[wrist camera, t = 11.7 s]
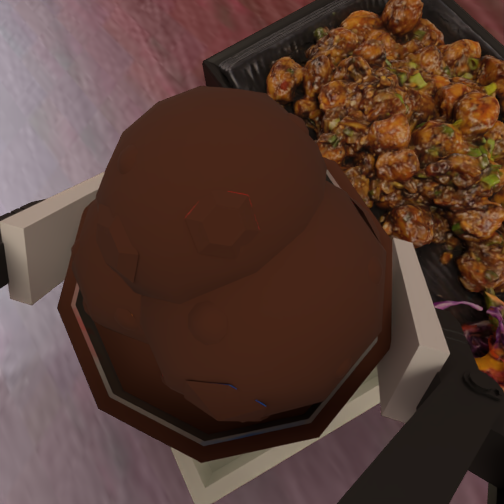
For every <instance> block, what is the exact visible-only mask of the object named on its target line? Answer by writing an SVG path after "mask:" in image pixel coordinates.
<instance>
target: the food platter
mask: <svg viewBox="0 0 504 504" xmlns="http://www.w3.org/2000/svg"><path fill="white" fill-rule="evenodd" d="M202 65H203V70H204V75H205V80H206V85H207V86H208V87H220V88H232V89H242V90H248V91H254V92H261V93H265V92H266V94H267V95H268V96H270V97H271V98H272V99H273V100H275V101H276V102H277V103H278V104H280V105H281V106H282V107H283V108H284V109H285V110H286V111H287V112H288V113H292V114H294V115H296V116H298V117H300V118H302V119H303V121H304V123H305V125H306V127H307V128H308V130H309V136H310V137H311V138H312V139H313V140H314V141H315V143H316V144H317V145H318V147H319V150H320V152H321V154H322V157H325V158H327V159H330V160H333V161H335V162H336V163H337V164H338V165H339V167H340V168H341V170H342V171H343V172H344V174H345V175H346V177H347V178H348V180H349V181H350V182H351V184H352V185H353V187H354V188H355V189H356V191H357V192H358V194H359V195H360V196H361V198H362V199H363V201H364V202H365V203H366V205H367V206H368V208H369V209H370V210H371V212H372V213H373V215H374V216H375V217H376V219H377V220H378V222H379V223H380V225H381V226H382V227H383V229H384V230H385V232H386V233H387V234H388V236H389V237H390V239H391V240H393V238H396V239H400V240H404V241H408V242H411V243H413V246H414V249H415V252H416V255H417V258H418V261H419V264H420V267H421V270H422V272H423V275H424V278H425V281H426V284H427V287H428V290H429V293H430V296H431V299H432V302H433V305H434V307H435V308H438V309H442V310H445V311H449V312H450V313H451V314H452V315H453V316H454V317H455V318H456V319H457V320H458V322H459V323H460V325H461V327H462V330H463V332H464V336H465V337H466V339H467V342H468V343H467V344H468V345H469V346H470V349H471V351H472V354H473V356H474V359H475V361H476V363H477V366H478V368H479V370H480V371H482V372H484V373H486V374H487V375H488V376H490V377H491V378H492V379H494V380H495V381H496V382H497V383H498V384H499V385H500V387H501V388H502V389H503V391H504V46H503V45H502V44H501V43H500V42H499V41H497V40H496V39H495V38H494V37H493V36H492V35H491V34H490V33H489V32H488V31H487V30H485V29H484V28H483V27H482V26H481V25H480V24H479V23H478V22H477V21H476V20H474V19H473V18H472V17H471V16H470V15H469V14H468V13H467V12H466V11H465V10H464V9H462V8H461V7H460V6H459V5H458V4H457V3H456V2H455V1H454V0H315V1H314V2H312V3H310V4H308V5H306V6H304V7H302V8H301V9H299V10H297V11H295V12H293V13H291V14H289V15H288V16H286V17H284V18H282V19H280V20H278V21H276V22H275V23H273V24H271V25H269V26H267V27H265V28H263V29H262V30H260V31H258V32H256V33H254V34H252V35H250V36H249V37H247V38H245V39H243V40H241V41H239V42H237V43H236V44H234V45H232V46H230V47H228V48H226V49H224V50H223V51H221V52H219V53H217V54H215V55H213V56H211V57H210V58H208V59H206V60H204V61H203V63H202ZM344 84H345V85H344ZM429 86H430V87H429ZM357 100H358V101H357ZM463 139H464V140H463ZM466 141H467V142H466ZM468 142H469V143H468ZM446 151H447V152H446ZM470 176H471V177H470ZM402 181H403V182H402ZM473 183H474V184H473ZM451 223H452V224H451ZM486 240H487V241H486ZM456 250H457V251H456ZM463 251H464V252H463ZM460 255H461V256H460ZM455 257H456V258H455ZM483 261H484V262H483ZM487 265H488V266H487ZM471 316H472V317H471ZM493 332H494V333H493Z"/></svg>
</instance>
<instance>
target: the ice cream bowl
mask: <svg viewBox="0 0 504 504" xmlns="http://www.w3.org/2000/svg"><path fill="white" fill-rule="evenodd" d="M392 242H393V241H392V240H391V239H390V237H389V236H388V234H387V233H386V232H385V230H384V229H383V227H382V226H381V225H380V223H379V222H378V220H377V219H376V217H375V216H374V215H373V213H372V212H371V210H370V209H369V208H368V206H367V205H366V203H365V202H364V201H363V199H362V198H361V196H360V195H359V194H358V192H357V191H356V189H355V188H354V187H353V185H352V184H351V182H350V181H349V180H348V178H347V177H346V175H345V174H344V172H343V171H342V170H341V168H340V167H339V165H338V164H337V163H336V162H335V161H333V160H330V159H327V158H325V157H322V154H321V152H320V150H319V147H318V145H317V144H316V143H315V141H314V140H313V139H312V138H311V137H310V136H309V130H308V128H307V127H306V125H305V123H304V121H303V119H302V118H300V117H298V116H296V115H294V114H292V113H288V112H287V111H286V110H285V109H284V108H283V107H282V106H281V105H280V104H278V103H277V102H276V101H275V100H273V99H272V98H271V97H270V96H268V95H267V94H266V93H261V92H254V91H248V90H242V89H232V88H220V87H208V86H199V87H196V88H194V89H191V90H188V91H186V92H183V93H181V94H178V95H175V96H173V97H170V98H167V99H165V100H162V101H159V102H157V103H156V104H155V105H154V106H153V107H152V108H150V109H149V110H148V111H147V112H146V113H145V114H144V115H142V116H141V117H140V118H139V119H138V120H137V121H135V122H134V123H133V124H132V125H131V126H130V127H128V128H127V129H126V130H125V131H124V132H123V133H122V135H121V137H120V139H119V142H118V144H117V146H116V148H115V150H114V153H113V155H112V157H111V159H110V161H109V163H108V166H107V168H106V170H105V173H104V176H103V178H102V181H101V184H100V186H99V189H98V191H97V194H96V199H95V200H93V201H92V202H91V203H90V204H89V205H88V206H87V207H86V208H85V209H84V211H83V213H82V216H81V220H80V224H79V228H78V232H77V235H76V239H75V243H74V245H73V246H72V248H71V258H70V262H69V265H68V269H67V273H66V277H65V281H64V284H63V288H62V292H61V296H60V299H59V303H58V307H57V309H58V311H59V313H60V316H61V318H62V321H63V323H64V326H65V328H66V331H67V333H68V335H69V338H70V340H71V343H72V345H73V348H74V350H75V353H76V355H77V357H78V360H79V362H80V365H81V367H82V370H83V372H84V375H85V377H86V380H87V382H88V384H89V387H90V389H91V392H92V394H93V397H94V399H95V402H96V404H97V406H98V409H100V410H102V411H104V412H106V413H108V414H110V415H112V416H113V417H115V418H117V419H119V420H121V421H123V422H125V423H127V424H129V425H130V426H132V427H134V428H136V429H138V430H140V431H142V432H144V433H146V434H147V435H149V436H151V437H153V438H155V439H157V440H159V441H161V442H163V443H164V444H166V445H168V446H170V447H172V448H174V449H176V450H178V451H180V452H181V453H183V454H185V455H187V456H189V457H191V458H193V459H195V460H197V461H198V462H200V463H204V462H208V461H213V460H218V459H222V458H227V457H231V456H236V455H241V454H245V453H250V452H254V451H259V450H264V449H268V448H273V447H277V446H282V445H287V444H291V443H296V442H301V441H305V440H310V439H314V438H319V437H320V436H321V434H322V433H323V432H324V431H325V429H326V428H327V427H328V426H329V424H330V423H331V422H332V421H333V419H334V418H335V417H336V416H337V414H338V413H339V412H340V411H341V409H342V408H343V407H344V406H345V404H346V403H347V402H348V401H349V399H350V398H351V397H352V396H353V394H354V393H355V392H356V391H357V389H358V388H359V387H360V386H361V384H362V383H363V382H364V381H365V379H366V378H367V377H368V376H369V374H370V373H371V372H372V371H373V369H374V368H375V367H376V366H377V364H378V363H379V362H380V361H381V359H382V358H383V357H384V356H385V354H386V353H387V352H388V351H389V349H390V345H391V324H392Z"/></svg>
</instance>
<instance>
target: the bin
mask: <svg viewBox="0 0 504 504" xmlns="http://www.w3.org/2000/svg"><path fill="white" fill-rule="evenodd" d="M379 403H380V393H379V382H378V371H377V366H376V367H375V368H374V369H373V371H372V372H371V373H370V374H369V376H368V377H367V378H366V379H365V381H364V382H363V383H362V384H361V386H360V387H359V388H358V389H357V391H356V392H355V393H354V394H353V396H352V397H351V398H350V399H349V401H348V402H347V403H346V404H345V406H344V407H343V408H342V409H341V411H340V412H339V413H338V414H337V416H336V417H335V418H334V419H333V421H332V422H331V423H330V424H329V426H328V427H327V428H326V429H325V431H324V432H323V433H322V434H321V436H320V437H319V438H314V439H310V440H305V441H301V442H296V443H291V444H287V445H282V446H277V447H273V448H268V449H264V450H259V451H254V452H250V453H245V454H241V455H236V456H231V457H227V458H222V459H218V460H213V461H208V462H204V463H200V462H198V461H197V460H195V459H193V458H191V457H189V456H187V455H185V454H183V453H181V452H180V451H178V450H176V449H174V448H172V447H170V448H171V450H172V453H173V455H174V457H175V460H176V462H177V464H178V467H179V469H180V471H181V474H182V476H183V478H184V481H185V483H186V485H187V488H188V490H189V492H190V495H191V497H192V500H193V502H194V504H212V503H214V502H215V501H217V500H219V499H220V498H222V497H224V496H225V495H227V494H229V493H230V492H232V491H234V490H235V489H237V488H239V487H240V486H242V485H244V484H245V483H247V482H249V481H250V480H252V479H254V478H255V477H257V476H259V475H260V474H262V473H264V472H265V471H267V470H269V469H270V468H272V467H274V466H275V465H277V464H279V463H280V462H282V461H284V460H285V459H287V458H289V457H290V456H292V455H294V454H295V453H297V452H299V451H300V450H302V449H304V448H305V447H307V446H309V445H310V444H312V443H314V442H315V441H317V440H319V439H320V438H322V437H324V436H325V435H327V434H329V433H330V432H332V431H334V430H335V429H337V428H339V427H340V426H342V425H344V424H345V423H347V422H349V421H350V420H352V419H354V418H355V417H357V416H359V415H360V414H362V413H364V412H365V411H367V410H369V409H370V408H372V407H374V406H375V405H377V404H379Z"/></svg>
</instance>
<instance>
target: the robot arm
mask: <svg viewBox="0 0 504 504" xmlns="http://www.w3.org/2000/svg"><path fill="white" fill-rule="evenodd" d="M104 173H105V172H103V173H101V174H99V175H97V176H95V177H92V178H90V179H88V180H86V181H84V182H82V183H80V184H78V185H76V186H73V187H71V188H69V189H67V190H65V191H63V192H61V193H59V194H57V195H54V196H52V197H50V198H48V199H44V200H39V201H34V202H31V203H28V204H26V205H24V206H22V207H20V209H19V208H18V209H15V210H13V211H11V213H7V214H4V215H2V216H0V288H2V287H3V286H5V285H6V284H8V286H9V293H10V299H13V300H16V301H19V302H23V303H26V304H29V305H33V304H34V303H36V302H37V301H38V300H39V299H41V298H42V297H43V296H44V295H46V294H47V293H48V292H49V291H51V290H52V289H53V288H55V287H56V286H57V285H58V284H60V283H61V282H62V281H63V280H65V277H66V273H67V269H68V265H69V262H70V258H71V248H72V246H73V245H74V243H75V239H76V235H77V232H78V228H79V224H80V220H81V216H82V213H83V211H84V209H85V208H86V207H87V206H88V205H89V204H90V203H91V202H92V201H93V200H95V199H96V194H97V191H98V189H99V186H100V184H101V181H102V178H103V176H104ZM392 241H393V242H392V324H391V345H390V349H389V351H388V352H387V353H386V354H385V356H384V357H383V358H382V359H381V361H380V362H379V363H378V364H377V371H378V382H379V393H380V404H381V415H382V416H384V417H387V418H390V419H394V420H397V421H400V422H403V423H406V424H405V425H404V426H403V427H402V428H401V430H400V431H399V432H398V433H397V434H396V435H395V437H394V438H393V439H392V440H391V441H390V442H389V444H388V445H387V446H386V447H385V448H384V449H383V450H382V452H381V453H380V454H379V455H378V456H377V457H376V459H375V460H374V461H373V462H372V463H371V464H370V466H369V467H368V468H367V469H366V470H365V471H364V473H363V474H362V475H361V476H360V477H359V478H358V480H357V481H356V482H355V483H354V484H353V485H352V487H351V488H350V489H349V490H348V491H347V492H346V494H345V495H344V496H343V497H342V498H341V499H340V501H339V502H338V503H337V504H449V502H450V500H451V499H452V497H453V495H454V493H455V492H456V490H457V488H458V486H459V484H460V483H461V481H462V479H463V477H464V476H465V474H466V472H467V470H469V471H470V472H472V473H474V474H475V475H477V476H479V477H480V478H482V479H484V480H485V481H487V482H489V484H488V500H487V504H504V391H503V389H502V388H501V387H500V385H499V384H498V383H497V382H496V381H495V380H494V379H492V378H491V377H490V376H488V375H487V374H486V373H484V372H482V371H480V370H479V368H478V366H477V363H476V361H475V359H474V356H473V354H472V351H471V349H470V346H469V345H468V344H467V343H468V342H467V339H466V337H465V336H464V332H463V330H462V327H461V325H460V323H459V322H458V320H457V319H456V318H455V317H454V316H453V315H452V314H451V313H450V312H449V311H445V310H442V309H438V308H435V307H434V305H433V302H432V299H431V296H430V293H429V290H428V287H427V284H426V281H425V278H424V275H423V272H422V270H421V267H420V264H419V261H418V258H417V255H416V252H415V249H414V246H413V243H411V242H408V241H404V240H400V239H396V238H393V240H392ZM416 410H417V411H416Z"/></svg>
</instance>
